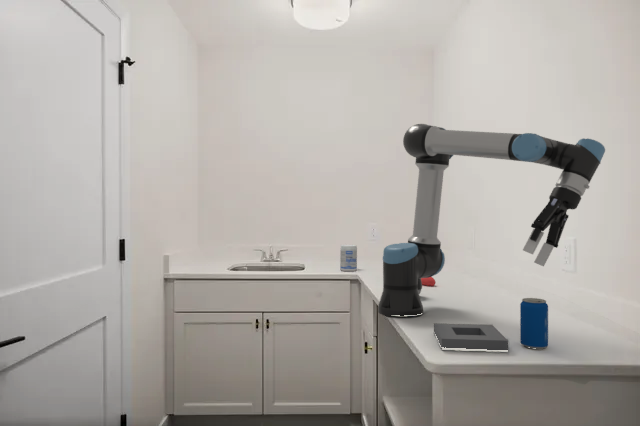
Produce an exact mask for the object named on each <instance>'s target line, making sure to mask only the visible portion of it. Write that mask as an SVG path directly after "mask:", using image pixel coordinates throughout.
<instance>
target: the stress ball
mask: <svg viewBox="0 0 640 426" xmlns="http://www.w3.org/2000/svg"><path fill="white" fill-rule="evenodd" d="M421 281H422V286H426V285H427V287H434V286H435V285H436V279H434V277H433V276H432V277H429V278H421Z"/></svg>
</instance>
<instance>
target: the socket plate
mask: <svg viewBox="0 0 640 426" xmlns="http://www.w3.org/2000/svg"><path fill="white" fill-rule="evenodd" d="M434 332H435V334H436V336H437V338H438V340H439V343H440V345H441V347H444V348H445V347H446V348H466V349H487V350H508V351H509V339H508V338H506V336H504V335H503V333H501V332H500V331H499V330H498V329H497V328H496V327H495V326H494V325H493V324H488V323H487V324H480V323H440V322H438V323H437V322H435V323H433V333H434Z"/></svg>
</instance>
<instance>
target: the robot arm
mask: <svg viewBox="0 0 640 426" xmlns="http://www.w3.org/2000/svg"><path fill="white" fill-rule="evenodd" d="M403 135H404V136H403V140H402V141H403V147H404V150H405V152H407V154H408V155H409V156H412V157H413V158H415V164H414V165H416V166H417V168H418V176H417V177H418V178H417V187H416V188H417V189H416V198H415V199H416V200H415V209H414V210H415V211H414V221H413V228H412V229H413V230H412V235H411V236H410V237H408V239H407V242H399V243H391V244H389V245H386V246H385V247H383V252H382V253H383V255H382V262H383V263H382V267H383V268H382V275H383V276H382V277H383V288H382V293H381V296H380V299H379V302H378V306H377V309H378V310H377V311H378V313H379V314H380V315H381V316H385V317H391V315H400V316H404V315H417V314H421V313H423V314H424V306H423V302H422V300H421V297H420V294H419V293H418V279H421V278H429V277H432V278H433V276H436V275H437V274H439V273H440V272H441V271H442V270H443V268H444V266H445V262H446V260H445V259H446V257H445V253H444V252H443V250H442V248H441V245H442V244H441V243H442V242H441V241H440V240H439V238H438V232H439V220H440V211H441V201H442V191H443V190H442V189H443V182H444V172H445V170H446V169H447V168H449V167H450V160H451V159H452V157H454V156H460V157H461V156H463V157H473V158H484V159H496V160H505V161H506V160H507V161H514V162H515V161H518V162H524V163H525V162H526V163H534V164H539V165H545V166H548V167H551V168H556V169H558V170H559V169H560V170H562V171H561V173H560V175H559V177H558V179H557V180H556V184H555V187H553V189H552V191H551V193H550V195H549V196H548V199H549V201H548V202H547V204H546V205H545V207H544V208H542V210H541V212H540V213H539V214H538V216H536V218H535V219H534V220H533V222H532V223H531V226H530V227H531V228H533V229H532V232H531V233H530V235H529V237H528V239H527V241H526V242H525V245H524V247H523V248H522V251H523V252H526V253H528V254H531V255H534V253H535V252H536V250H537V248H538V246H539V244H540V242H541V240H542V238H543V237H544V234H545V230H546V229H547V228H548V227H549V229H548V233H547V236H546V240H545V242H543V244H542V246H541V248H540V250H539V252H538V254H537V256H536V258H535V260H534V262H533V263H535V264H537V265H538V266H539V265H540V266H542V267H545V265H546V263H547V261H548V260H549V257H550V256H551V253H552V251H553V249H554V248H558V247H559V243H560V239H561V236H562V234H563V231H564V228H565V225H566V222H567V221H568V219H569V214H568V213H567V212H568V210H576V209H577V208H578V206H579V204H580V202H581V200H582V196H583V195H584V194H585V192H586V190H589V189H590V185H589V184H590V183H591V181H592V178H593V177H594V175H595V173H596V171H597V169H598V168H599V166H600V165H601V161H602V159H603V157H604V156H605V155H604V154H605V152H606V147H605V146H604V145H603V144H602V143H601V142H600V141H598V140H595V139H592V138H580V139H579V140H578V141H577V142H576V143H575V144H573V143H572V144H571V143H567V142H563V141H559V140H555V139H552V138H547V137H545V136H541V135H539V134H537V133H533V132H531V133H529V132H525V133H514V132H513V133H511V132H510V133H509V132H492V131H491V132H490V131H473V130H471V131H470V130H454V129H453V130H452V129H446V128H444V127H440V126H435V125H430V124H426V123H418V124H414V125H412V126H410V127H409V128H408V129H407V130H406V131H405V133H404V134H403Z"/></svg>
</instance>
